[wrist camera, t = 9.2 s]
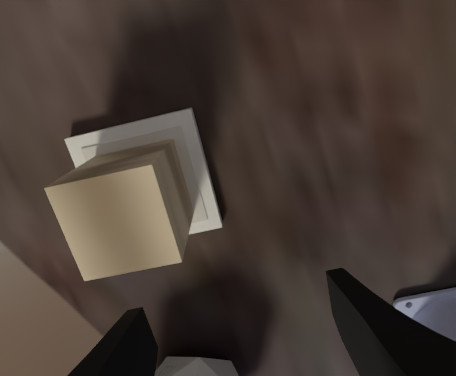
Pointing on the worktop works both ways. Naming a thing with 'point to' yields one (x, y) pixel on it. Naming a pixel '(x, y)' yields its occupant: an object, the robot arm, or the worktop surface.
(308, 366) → the worktop surface
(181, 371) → the die
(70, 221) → the maple block
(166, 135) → the tray
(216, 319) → the worktop surface
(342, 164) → the worktop surface
